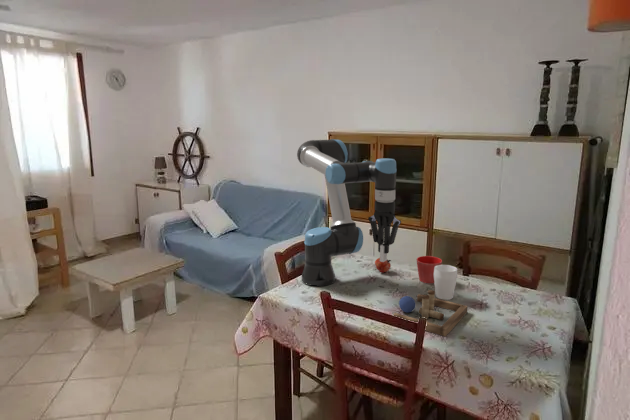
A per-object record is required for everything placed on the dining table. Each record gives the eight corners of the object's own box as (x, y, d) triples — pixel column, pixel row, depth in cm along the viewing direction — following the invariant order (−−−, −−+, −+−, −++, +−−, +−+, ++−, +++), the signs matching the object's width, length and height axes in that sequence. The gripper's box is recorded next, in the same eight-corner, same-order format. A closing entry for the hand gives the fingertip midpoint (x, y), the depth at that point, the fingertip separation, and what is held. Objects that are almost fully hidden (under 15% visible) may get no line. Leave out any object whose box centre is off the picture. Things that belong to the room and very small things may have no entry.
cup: (457, 302, 163) (459, 272, 161) (433, 300, 165) (434, 271, 162) (454, 292, 172) (456, 265, 169) (431, 291, 173) (433, 263, 171)
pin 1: (420, 318, 150) (421, 296, 148) (423, 316, 152) (424, 293, 150) (426, 320, 148) (427, 297, 146) (429, 317, 150) (430, 295, 148)
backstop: (393, 320, 148) (393, 314, 148) (418, 299, 165) (418, 293, 165) (445, 336, 137) (446, 329, 136) (467, 312, 154) (467, 306, 154)
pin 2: (425, 313, 154) (426, 291, 152) (428, 311, 155) (429, 289, 154) (432, 315, 152) (433, 293, 150) (434, 312, 154) (435, 290, 152)
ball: (413, 315, 151) (399, 315, 155) (420, 306, 155) (407, 306, 159) (407, 301, 150) (393, 301, 154) (414, 292, 154) (401, 293, 158)
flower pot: (445, 284, 181) (446, 262, 179) (421, 285, 179) (422, 264, 177) (434, 275, 191) (435, 255, 189) (412, 277, 190) (412, 256, 188)
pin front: (418, 308, 152) (441, 315, 147) (421, 306, 154) (444, 312, 149) (418, 314, 153) (441, 321, 148) (421, 312, 155) (444, 318, 149)
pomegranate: (373, 278, 195) (389, 269, 189) (366, 263, 198) (381, 254, 192) (382, 275, 201) (397, 266, 195) (375, 261, 203) (390, 252, 197)
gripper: (364, 200, 156) (363, 260, 161) (396, 204, 148) (394, 267, 154) (374, 197, 162) (373, 255, 167) (405, 200, 154) (403, 261, 159)
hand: (383, 260), depth 160 cm, fingers closed
